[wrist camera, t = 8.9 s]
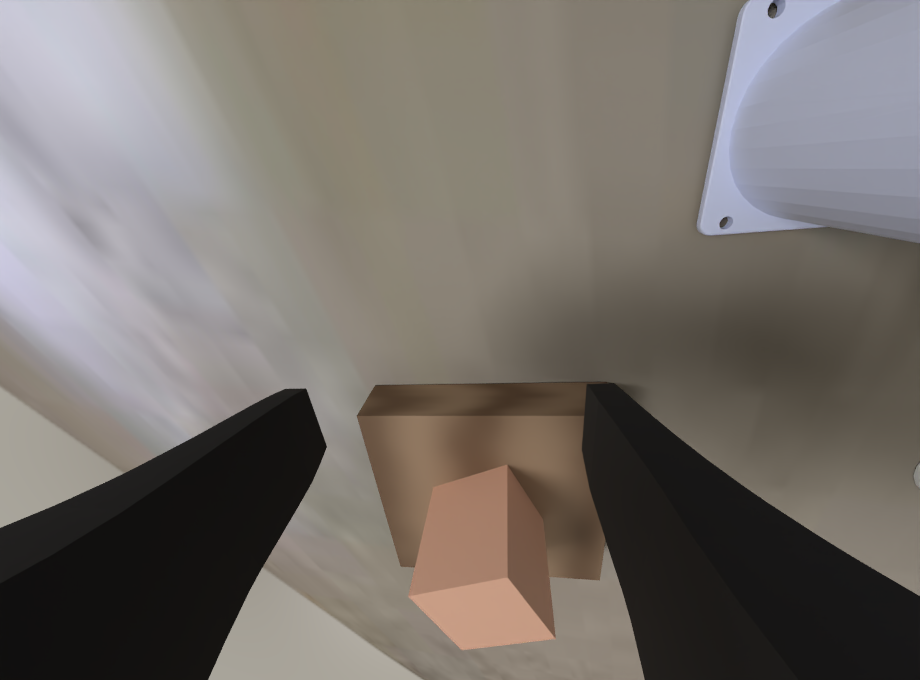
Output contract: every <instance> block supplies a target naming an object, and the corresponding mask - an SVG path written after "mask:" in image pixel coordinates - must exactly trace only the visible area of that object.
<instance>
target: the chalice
mask: <svg viewBox="0 0 920 680" xmlns="http://www.w3.org/2000/svg"><path fill="white" fill-rule="evenodd" d="M913 477H914V480H915V484H916V486H918V487H919V488H920V463H919V464H918V466H917V467H916V470H915V473H914V476H913Z"/></svg>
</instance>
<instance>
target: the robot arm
mask: <svg viewBox="0 0 920 680" xmlns="http://www.w3.org/2000/svg"><path fill="white" fill-rule="evenodd" d="M771 3H775V4H776V6H777V13H776V15H775V17H774V18H770V17H769V16H768V8H769V5H770V4H771ZM724 217H727V218H728V222H727V224H726V225H725V226H723V227H721V228H720V227H719V223H720V221H721V220H722V219H723V218H724ZM819 227H833V228H838V229H843V230H849V231H854V232H860V233H865V234H871V235H876V236H881V237H887V238H892V239H898V240H903V241H909V242H914V243H919V244H920V0H749V1H747V2H746V3H745V4H744V6H743V7H742V8H741V10H740V12H739V15H738V18H737V23H736V28H735V33H734V39H733V44H732V49H731V54H730V59H729V64H728V69H727V74H726V79H725V84H724V89H723V94H722V99H721V104H720V109H719V114H718V119H717V124H716V129H715V134H714V139H713V144H712V149H711V154H710V160H709V165H708V170H707V175H706V180H705V185H704V190H703V195H702V200H701V205H700V210H699V215H698V220H697V229H698V231H699V232H700V233H702V234H704V235H710V236H711V235H724V234H738V233H751V232H765V231H778V230H792V229H805V228H819ZM326 448H327V446H326V443H325V440H324V437H323V434H322V432H321V429H320V426H319V423H318V420H317V418H316V415H315V412H314V409H313V406H312V404H311V401H310V398H309V395H308V392H307V390H306V389H284V390H282V391H280V392H277V393H275V394H273V395H271V396H269V397H267V398H265V399H263V400H261V401H259V402H257V403H255V404H253V405H252V406H250V407H248V408H246V409H244V410H242V411H241V412H239V413H237V414H235V415H233V416H231V417H230V418H228V419H226V420H224V421H222V422H221V423H219V424H217V425H215V426H213V427H212V428H210V429H208V430H206V431H204V432H203V433H201V434H199V435H197V436H195V437H193V438H192V439H190V440H188V441H186V442H184V443H182V444H180V445H178V446H176V447H174V448H173V449H171V450H169V451H167V452H165V453H163V454H161V455H159V456H157V457H155V458H153V459H152V460H150V461H148V462H146V463H144V464H142V465H140V466H138V467H136V468H134V469H132V470H130V471H128V472H126V473H124V474H122V475H120V476H118V477H116V478H114V479H112V480H110V481H108V482H105V483H103V484H101V485H99V486H97V487H95V488H92V489H90V490H88V491H86V492H84V493H81V494H79V495H77V496H75V497H73V498H71V499H68V500H66V501H64V502H62V503H59V504H57V505H55V506H52V507H50V508H48V509H45V510H43V511H40V512H38V513H36V514H33V515H31V516H28V517H26V518H24V519H21V520H19V521H16V522H14V523H11V524H9V525H6V526H4V527H2V528H0V680H208V678H209V676H210V674H211V672H212V669H213V667H214V665H215V663H216V661H217V658H218V656H219V654H220V652H221V650H222V647H223V645H224V643H225V641H226V639H227V636H228V634H229V632H230V630H231V628H232V626H233V624H234V622H235V620H236V618H237V616H238V614H239V611H240V609H241V607H242V605H243V603H244V601H245V599H246V597H247V595H248V593H249V591H250V589H251V587H252V585H253V583H254V582H255V580H256V578H257V576H258V574H259V572H260V571H261V569H262V567H263V565H264V564H265V562H266V560H267V559H268V557H269V555H270V554H271V552H272V550H273V548H274V547H275V545H276V543H277V542H278V540H279V538H280V537H281V535H282V533H283V531H284V530H285V528H286V526H287V525H288V523H289V521H290V520H291V518H292V516H293V515H294V513H295V511H296V509H297V508H298V506H299V504H300V502H301V501H302V499H303V497H304V496H305V494H306V492H307V490H308V488H309V487H310V485H311V483H312V481H313V479H314V477H315V474H316V472H317V470H318V468H319V465H320V463H321V460H322V458H323V455H324V453H325V450H326ZM582 454H583V459H584V464H585V469H586V474H587V479H588V484H589V489H590V492H591V495H592V499H593V502H594V505H595V508H596V511H597V514H598V518H599V521H600V524H601V527H602V530H603V533H604V536H605V539H606V542H607V545H608V548H609V551H610V555H611V558H612V561H613V564H614V567H615V570H616V573H617V576H618V579H619V582H620V585H621V588H622V592H623V595H624V598H625V602H626V605H627V609H628V612H629V616H630V619H631V623H632V627H633V631H634V636H635V640H636V644H637V648H638V652H639V657H640V661H641V665H642V669H643V674H644V678H645V680H920V596H918V595H917V594H915V593H913V592H912V591H910V590H908V589H906V588H905V587H903V586H901V585H900V584H898V583H896V582H894V581H893V580H891V579H889V578H888V577H886V576H884V575H882V574H881V573H879V572H877V571H876V570H874V569H872V568H871V567H869V566H867V565H865V564H864V563H862V562H860V561H859V560H857V559H855V558H854V557H852V556H850V555H849V554H847V553H845V552H844V551H842V550H841V549H839V548H837V547H836V546H834V545H832V544H831V543H829V542H827V541H826V540H824V539H823V538H821V537H819V536H818V535H816V534H815V533H813V532H812V531H810V530H809V529H807V528H806V527H804V526H802V525H801V524H799V523H798V522H796V521H795V520H793V519H792V518H790V517H789V516H787V515H786V514H784V513H782V512H781V511H779V510H778V509H776V508H775V507H773V506H772V505H770V504H769V503H767V502H766V501H764V500H763V499H761V498H760V497H758V496H757V495H755V494H754V493H752V492H751V491H750V490H748V489H747V488H745V487H744V486H742V485H741V484H740V483H738V482H737V481H736V480H734V479H733V478H731V477H730V476H729V475H727V474H726V473H725V472H723V471H722V470H720V469H719V468H718V467H716V466H715V465H714V464H712V463H711V462H709V461H708V460H707V459H705V458H704V457H703V456H702V455H700V454H699V453H698V452H696V451H695V450H694V449H692V448H691V447H690V446H689V445H687V444H686V443H685V442H684V441H682V440H681V439H680V438H679V437H677V436H676V435H675V434H674V433H672V432H671V431H670V430H669V429H667V428H666V427H665V426H664V425H663V424H661V423H660V422H659V421H658V420H657V419H655V418H654V417H653V416H652V415H651V414H649V413H648V412H647V411H646V410H645V409H644V408H642V407H641V406H640V405H639V404H638V403H637V402H635V401H634V400H633V399H632V398H631V397H630V396H629V395H627V394H626V393H625V392H624V391H623V390H621V389H620V388H619V387H618V386H617V385H615V384H614V383H603V384H587V386H586V399H585V412H584V425H583V438H582Z"/></svg>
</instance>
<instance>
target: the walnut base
mask: <svg viewBox="0 0 920 680" xmlns="http://www.w3.org/2000/svg"><path fill="white" fill-rule="evenodd" d="M603 383H607V382H574V383H507V384H440V385H375V387H374V388H373V390H372V392H371V393H370V395H369V397H368V398H367V400H366V402H365V403H364V405H363V407H362V408H361V410H360V412H359V413H358V415H357V418H358V422H359V425H360V428H361V432H362V435H363V439H364V442H365V446H366V449H367V452H368V456H369V459H370V463H371V466H372V470H373V473H374V476H375V480H376V483H377V487H378V490H379V494H380V497H381V500H382V504H383V507H384V511H385V514H386V518H387V521H388V524H389V528H390V531H391V535H392V538H393V542H394V545H395V548H396V552H397V555H398V559H399V562H400V565H401V566H402V567H415V565H416V561H417V556H418V552H419V548H420V543H421V539H422V534H423V530H424V526H425V521H426V517H427V513H428V508H429V504H430V499H431V495H432V491H433V487H436V486H439V485H442V484H445V483H449V482H452V481H455V480H458V479H462V478H465V477H468V476H472V475H475V474H478V473H481V472H485V471H488V470H491V469H494V468H498V467H501V466H504V465H508V467H509V468H510V470H511V471H512V473H513V474H514V476H515V477H516V479H517V480H518V482H519V483H520V485H521V486H522V488H523V489H524V491H525V493H526V494H527V496H528V497H529V499H530V500H531V502H532V503H533V505H534V506H535V508H536V509H537V511H538V512H539V514H540V515H541V517H542V518H543V523H544V532H545V542H546V551H547V561H548V570H549V577H560V578H574V579H589V580H600V574H601V567H602V560H603V553H604V546H605V536H604V533H603V530H602V527H601V524H600V521H599V518H598V514H597V511H596V508H595V505H594V502H593V499H592V495H591V492H590V489H589V484H588V479H587V474H586V469H585V464H584V459H583V454H582V438H583V425H584V412H585V399H586V386H587V384H603Z"/></svg>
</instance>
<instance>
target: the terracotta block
mask: <svg viewBox="0 0 920 680" xmlns="http://www.w3.org/2000/svg"><path fill="white" fill-rule="evenodd" d="M409 597H410V599H411V600H412V601H413V602H414V603H415V604H416V605H417V606H418V607H419V608H420V609H421V610H422V611H423V612H424V613H425V614H426V615H427V616H428V617H429V618H430V619H431V620H432V621H433V622H434V623H435V624H436V625H437V626H438V627H439V628H440V629H441V630H442V631H443V632H444V633H445V634H446V635H447V636H448V637H449V638H450V639H451V640H452V641H453V642H454V643H455V644H456V645H457V646H458V647H459V648H460V649H461V650H467V649H476V648H484V647H492V646H501V645H509V644H517V643H525V642H534V641H542V640H550V639H556V637H555V628H554V618H553V609H552V599H551V590H550V580H549V570H548V561H547V551H546V542H545V532H544V523H543V518H542V517H541V515H540V514H539V512H538V511H537V509H536V508H535V506H534V505H533V503H532V502H531V500H530V499H529V497H528V496H527V494H526V493H525V491H524V489H523V488H522V486H521V485H520V483H519V482H518V480H517V479H516V477H515V476H514V474H513V473H512V471H511V470H510V468H509V467H508V465H504V466H501V467H498V468H494V469H491V470H488V471H485V472H481V473H478V474H475V475H472V476H468V477H465V478H462V479H458V480H455V481H452V482H449V483H445V484H442V485H439V486H436V487H433V491H432V495H431V499H430V504H429V508H428V513H427V517H426V521H425V526H424V530H423V534H422V539H421V543H420V548H419V552H418V556H417V561H416V565H415V569H414V574H413V578H412V583H411V587H410V591H409Z"/></svg>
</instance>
